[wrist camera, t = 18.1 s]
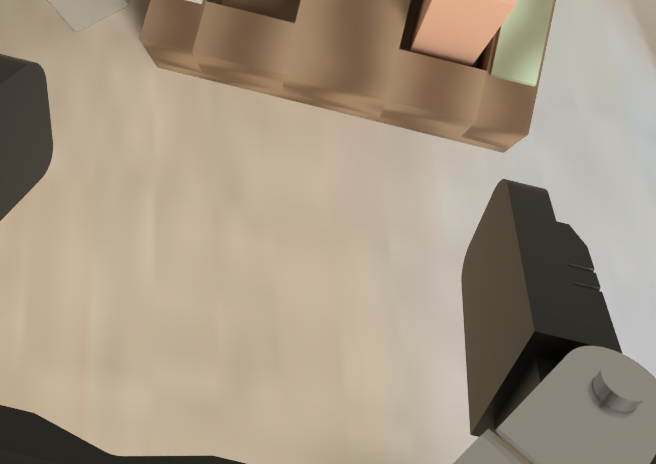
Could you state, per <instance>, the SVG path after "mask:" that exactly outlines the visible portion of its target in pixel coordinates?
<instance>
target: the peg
mask: <svg viewBox="0 0 656 464" xmlns="http://www.w3.org/2000/svg"><path fill="white" fill-rule="evenodd" d="M516 1H517V0H421V3H420V5H419V8H418V11H417V15H416V20H415V24H414V28H413V32H412V36H411V40H410V44H409V48H408V51H409V52H413V53H417V54H421V55H425V56H429V57H433V58H437V59H441V60H445V61H449V62H453V63H457V64H461V65H465V66H469V67H472V65H473V64H474V62H475V61H476V60H477V58H478V57H479V55H480V54H481V53H482V51H483V50H484V48H485V47H486V46H487V44H488V43H489V42H490V40H491V39H492V37H493V36H494V35H495V33H496V32H497V30H498V29H499V28H500V26H501V25H502V23H503V22H504V21H505V19H506V18H507V16H508V15H509V14H510V12H511V11H512V10H513V8H514V7H515V5H516Z"/></svg>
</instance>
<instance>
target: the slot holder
mask: <svg viewBox="0 0 656 464" xmlns="http://www.w3.org/2000/svg"><path fill="white" fill-rule="evenodd" d="M555 1H556V0H517V1H516V5H515V7H514V8H513V10H512V11H511V12H510V14H509V15H508V16H507V18H506V19H505V21H504V22H503V23H502V25H501V26H500V28H499V29H498V30H497V32H496V33H495V35H494V36H493V37H492V39H491V40H490V42H489V43H488V44H487V46H486V47H485V48H484V50H483V51H482V53H481V54H480V55H479V57H478V58H477V60H476V61H475V62H474V64H473V65H472V67H469V66H465V65H461V64H457V63H453V62H449V61H445V60H441V59H437V58H433V57H429V56H425V55H421V54H417V53H413V52H409V51H408V48H409V44H410V40H411V36H412V32H413V28H414V24H415V20H416V15H417V11H418V8H419V5H420V3H421V0H150V3H149V6H148V10H147V13H146V17H145V20H144V23H143V27H142V30H141V34H140V37H139V39H140V40H141V42H142V43H143V45H144V47H145V48H146V50H147V51H148V53H149V55H150V56H151V58H152V59H153V61H154V62H155V64H156V66H157V67H159V68H163V69H167V70H171V71H175V72H179V73H183V74H187V75H191V76H195V77H199V78H203V79H207V80H211V81H215V82H219V83H223V84H227V85H232V86H236V87H240V88H244V89H248V90H252V91H256V92H260V93H264V94H268V95H272V96H276V97H280V98H284V99H288V100H292V101H296V102H301V103H305V104H309V105H313V106H317V107H321V108H325V109H329V110H333V111H337V112H341V113H345V114H349V115H353V116H357V117H361V118H365V119H369V120H374V121H378V122H382V123H386V124H390V125H394V126H398V127H402V128H406V129H410V130H414V131H418V132H422V133H426V134H430V135H434V136H438V137H443V138H447V139H451V140H455V141H459V142H463V143H467V144H471V145H475V146H479V147H483V148H487V149H491V150H495V151H499V152H503V153H504V152H505V151H506V150H508V149H509V148H510V147H512V146H513V145H514V144H516V143H517V142H518V141H520V140H521V139H522V138H524V137H525V136H527V135H528V133H529V128H530V124H531V119H532V114H533V109H534V104H535V99H536V94H537V89H538V84H539V80H540V75H541V70H542V65H543V60H544V55H545V50H546V45H547V41H548V36H549V31H550V26H551V21H552V16H553V11H554V6H555Z"/></svg>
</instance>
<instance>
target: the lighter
mask: <svg viewBox="0 0 656 464" xmlns="http://www.w3.org/2000/svg"><path fill="white" fill-rule="evenodd" d="M47 1H48V2H49V3H50V4H51V5H52V7H53V8H54V9H55V10H56V11H57V12H58V14H59V15H60V16H61V17H62V18H63V19H64V21H65V22H66V23H67V24H68V25H69V27H70V28H71V29H72V30H73V31H75V32H78V31H80V30H82V29H84V28H86V27H88V26H90V25H91V24H93V23H95V22H97V21H99V20H101V19H103V18H105V17H107V16H109V15H111V14H113V13H115V12H117V11H119V10H121V9H123V8H125V7H127V6H128V1H127V0H47Z"/></svg>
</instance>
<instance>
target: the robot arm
mask: <svg viewBox="0 0 656 464" xmlns="http://www.w3.org/2000/svg"><path fill="white" fill-rule="evenodd" d="M52 152H53V139H52V130H51V120H50V111H49V101H48V92H47V83H46V76H45V73H44V70H43V68H42V67H41V66H40V65H39V64H38V63H35V62H31V61H27V60H23V59H19V58H15V57H10V56H6V55H2V54H0V221H1V220H2V219H3V218H4V217H5V216H6V215H7V214H8V213H9V212H10V211H11V209H12V208H13V207H14V206H15V205H16V204H17V203H18V202H19V201H20V200H21V199H22V198H23V197H24V196H25V195H26V194H27V193H28V192H29V191H30V190H31V189H32V188H33V187H34V186H35V185H36V184H37V183H38V182H39V180H40V179H41V178H42V177H43V176H44V175H45V173H46V171H47V169H48V167H49V165H50V162H51V158H52ZM593 271H594V266H593V263H592V260H591V257H590V254H589V251H588V248H587V246H586V245H585V243H584V242H583V241H582V240H581V239H580V237H579V236H578V235H577V234H576V233H575V231H574V230H573V229H572V228H571V226H570V225H569V224H565V223H561V222H556V219H555V215H554V212H553V208H552V204H551V201H550V197H549V194H548V191H547V190H546V189H543V188H539V187H535V186H530V185H526V184H522V183H518V182H514V181H510V180H506V179H502V180H501V181H500V182H499V183H498V184H497V186H496V188H495V190H494V192H493V194H492V196H491V198H490V201H489V203H488V205H487V207H486V209H485V212H484V214H483V216H482V218H481V220H480V223H479V225H478V227H477V229H476V231H475V234H474V236H473V238H472V240H471V242H470V245H469V247H468V250H467V252H466V256H465V259H464V264H463V269H462V297H463V314H464V331H465V348H466V365H467V383H468V400H469V417H470V434H471V435H474V436H478V437H479V438H478V439H477V440H476V441H475V442H474V443H473V444H472V445H471V446H470V447H469V448H468V449H467V450H466V451H465V452H464V453H463V454H462V455H461V456H460V457H459V458H458V459H457V460H456V461H455V462H454V464H656V379H655V377H654V376H653V375H652V374H650V373H649V372H648V371H647V370H646V369H645V368H644V367H642V366H641V365H640V364H638V363H637V362H635V361H634V360H632V359H631V358H629V357H627V356H625V355H623V354H622V351H621V348H620V345H619V342H618V339H617V336H616V333H615V330H614V327H613V324H612V321H611V318H610V315H609V312H608V309H607V306H606V303H605V300H604V296H603V293H602V292H600V291H599V290H600V284H599V281H598V278H597V275H596V273H593ZM0 464H245V463H241V462H237V461H233V460H229V459H224V458H220V457H216V456H115V455H111V454H109V453H106V452H104V451H102V450H101V449H99V448H97V447H95V446H93V445H91V444H90V443H88V442H86V441H84V440H82V439H81V438H79V437H77V436H75V435H73V434H71V433H70V432H68V431H66V430H64V429H62V428H60V427H59V426H57V425H55V424H53V423H51V422H49V421H48V420H46V419H44V418H42V417H40V416H38V415H37V414H35V413H31V412H27V411H23V410H19V409H15V408H10V407H6V406H2V405H0Z"/></svg>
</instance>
